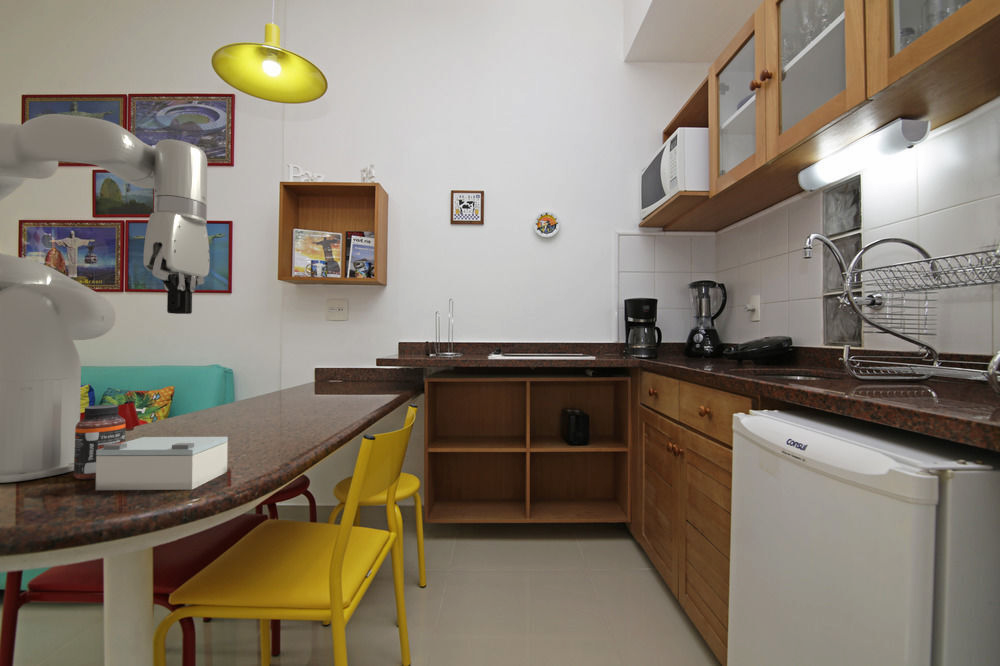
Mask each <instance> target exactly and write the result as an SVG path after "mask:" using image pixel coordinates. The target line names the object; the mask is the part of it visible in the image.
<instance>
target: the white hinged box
mask: <svg viewBox="0 0 1000 666" xmlns="http://www.w3.org/2000/svg"><path fill="white" fill-rule="evenodd" d="M228 444H229V442H228V441H227V442H225V443H222V444H220V445H217V446H214V447H212V448H209V449H207V450H204V451H201V452H199V453H196V454H194V455H99V456H96V479H95V491H143V490H144V491H145V490H146V491H157V490H158V491H159V490H160V491H163V490H166V491H168V490H169V491H170V490H171V491H172V490H175V491H176V490H177V491H178V490H185V491H187V490H194V489H196V488H198V487H200V486H202V485H204V484H205V483H208V482H210V481H212V480H214V479H216V478H217V477H219V476H221V475H224V474H225V473H227V472H228Z"/></svg>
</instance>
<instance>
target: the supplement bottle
mask: <svg viewBox="0 0 1000 666" xmlns="http://www.w3.org/2000/svg"><path fill="white" fill-rule="evenodd" d="M83 413H84V414H83V415H84V417H83V418H82V419H81V420H80V422H78V423H77V425H76V428H75V453H74V454H75V455H74V471H73V477H74V478H75V479H77V480H96V456H99V455H96V450H98V449H102V448H103V446H104V445H107V444H119V443H124V442H126V430H127V429H126V420H125V418H123V417H122V416H121V415H119V413H120V412H119V405H118V404H99V405H98V404H97V405H90V406H89V405H88V406H86V407H84V412H83Z"/></svg>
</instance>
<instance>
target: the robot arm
mask: <svg viewBox="0 0 1000 666" xmlns="http://www.w3.org/2000/svg"><path fill="white" fill-rule="evenodd" d="M59 162H67V163H78V164H79V163H80V164H88V165H94V166H98V167H100V168H102V169H104V170H105V171H107V172H109V173H111V174H112V175H113V176H116V177H118V178H119V179H121V180H123V181H125V182H126V183H129V184H130V185H133V186H134V187H138V188H141V189H153V191H154V192H153V197H154V198H153V207H154V208H153V212H151V213H150V215H149V218H148V222H147V225H146V230H145V231H146V232H145V236H144V243H143V244H144V245H143V246H144V247H143V266H144V267H145V269H146V270H149V271H150V272H151V274H152V276H153V277H156V278H157V279H159V280H161V281H162V282H163V285H164V290H165V291H167V299H166V300H167V301H166V302H167V303H166V304H167V306H166V307H167V309H166V312H167V313H168V314H173V315H176V314H177V315H179V314H180V315H191V314H192V312H193V293H195V291H196V287H197V286H199V285H204V284H205V277H207V276H208V275H209V272H210V263H211V262H210V243H209V236H208V235H209V234H208V229H207V223H208V222H207V217H208V216H207V213H208V207H207V206H208V158H207V155H206V153H205V151H204V150H203V149H201V148H200V147H199V146H198V145H194V144H192V143H190V142H187V141H183V140H179V139H178V140H177V139H174V138H173V139H172V138H169V139H162V140H159V141H157V143H156V144H155V147H153V146H152V145H149V144H147V143H146V142H144V141H142V140H141V139H139V138H138V137H137V136H136V135H134V133H132V132H130V131H129V130H127V129H125V128H124V127H123V126H121V125H119V124H117V123H115V122H111V121H110V120H105V119H101V118H96V117H91V116H90V117H89V116H81V115H73V114H61V113H59V114H58V113H48V114H42V115H39V116H36V117H34V118H30V119H28V120H26V121H25V122H23V124H19V123H7V122H0V201H2V200H3V199H6V198H7V197H8V196H9V195H11V194H13V193H14V192H15V191H16V190H17V189H18V188H20V187H21V186H22V185H23V184H24V182H26V180H27V179H32V180H34V179H35V180H37V179H38V180H45V179H49V178H52V176H54V175H55V173H56V172H57V171H58V167H59ZM116 318H117V317H116V311H115V309H114V307H113V304H112V303H111V302H110V300H108V299H107V298H106V297H105V296H103V295H101V294H100V293H98V292H97V291H95V290H93V289H91V288H90V287H88V286H86V285H84V284H82V283H81V282H78V281H77V280H75V279H73V278H71V277H69V276H68V275H65V274H64V273H62V272H60V271H59V270H57V269H54V268H52V267H50V266H49V265H46V264H43V263H41V262H38V261H36V260H32V259H27V258H24V257H20V256H15V255H11V254H5V253H0V484H3V483H4V484H5V483H6V484H7V483H15V482H23V481H24V482H25V481H31V480H37V479H43V478H47V477H48V478H49V477H53V476H57V475H63V474H66V473H71V472H74V455H75V454H74V453H75V428H76V425H77V423H78V422H80V421H81V395H82V394H81V392H82V391H81V389H82V388H81V387H82V386H81V385H82V384H81V383H82V382H81V381H82V380H81V379H82V378H81V377H82V365H81V357H80V355H79V351H78V349H77V347H76V345H75V343H74V341H87V340H93V339H97V338H99V337H102V336H104V335H106V334H107V333H109V332H110V331H111V330H112V329H113V328H114V325H115V322H116Z"/></svg>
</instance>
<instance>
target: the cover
mask: <svg viewBox="0 0 1000 666" xmlns="http://www.w3.org/2000/svg"><path fill="white" fill-rule="evenodd" d="M225 442H228V436H142V437H137V438H134V439H132V440H127V441H125V442H124V443H119V444H107V445H104V446H103V448H102V449H98V450H96V455H194V454H196V453H199V452H201V451H204V450H207V449H209V448H212V447H214V446H217V445H220V444H222V443H225Z"/></svg>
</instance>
